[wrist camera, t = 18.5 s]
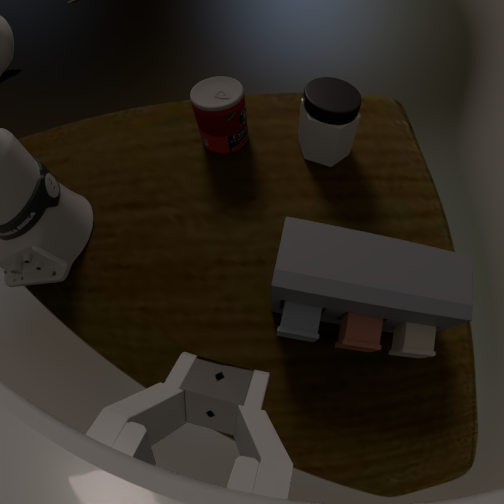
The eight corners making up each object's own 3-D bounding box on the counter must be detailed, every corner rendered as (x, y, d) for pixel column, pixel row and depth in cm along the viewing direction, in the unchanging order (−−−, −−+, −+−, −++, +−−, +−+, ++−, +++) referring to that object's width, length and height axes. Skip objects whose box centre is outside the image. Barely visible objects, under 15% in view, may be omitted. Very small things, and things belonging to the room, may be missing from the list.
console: (419, 336, 37) (471, 320, 25) (271, 311, 40) (271, 285, 28) (423, 288, 40) (472, 256, 28) (281, 261, 42) (285, 216, 30)
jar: (324, 121, 51) (332, 69, 40) (358, 149, 49) (374, 98, 38) (287, 144, 50) (289, 90, 39) (321, 175, 47) (333, 122, 36)
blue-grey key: (313, 342, 35) (318, 338, 31) (276, 335, 36) (277, 330, 32) (324, 281, 38) (330, 270, 34) (288, 275, 38) (291, 263, 34)
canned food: (240, 160, 49) (232, 111, 39) (195, 151, 50) (180, 104, 40) (254, 127, 52) (250, 79, 41) (212, 120, 53) (202, 73, 43)
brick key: (368, 352, 34) (381, 349, 30) (334, 346, 35) (342, 343, 31) (377, 292, 37) (389, 283, 33) (344, 286, 37) (352, 276, 33)
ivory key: (418, 358, 33) (435, 355, 29) (388, 354, 34) (402, 352, 30) (424, 300, 36) (440, 292, 32) (395, 295, 36) (409, 286, 32)
